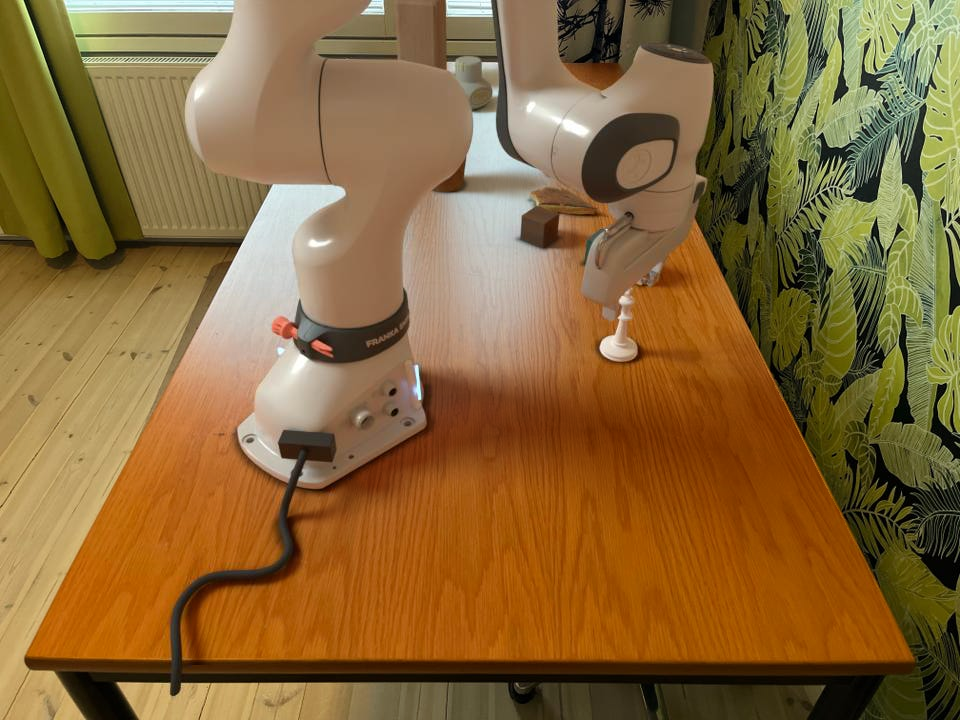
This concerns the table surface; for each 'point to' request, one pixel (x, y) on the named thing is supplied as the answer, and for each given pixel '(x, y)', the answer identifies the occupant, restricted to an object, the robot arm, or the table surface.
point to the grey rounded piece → (473, 80)
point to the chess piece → (621, 334)
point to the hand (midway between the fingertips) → (630, 299)
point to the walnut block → (539, 226)
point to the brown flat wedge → (561, 201)
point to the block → (421, 32)
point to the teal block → (590, 241)
